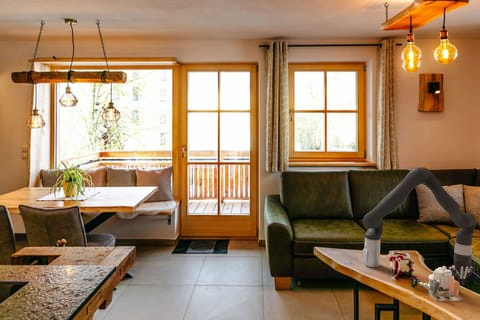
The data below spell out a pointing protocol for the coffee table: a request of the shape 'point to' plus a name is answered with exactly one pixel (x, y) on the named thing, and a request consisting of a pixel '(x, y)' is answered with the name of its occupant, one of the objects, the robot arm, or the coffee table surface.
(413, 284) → the valve
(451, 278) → the mechanical part
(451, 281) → the carriage
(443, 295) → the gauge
